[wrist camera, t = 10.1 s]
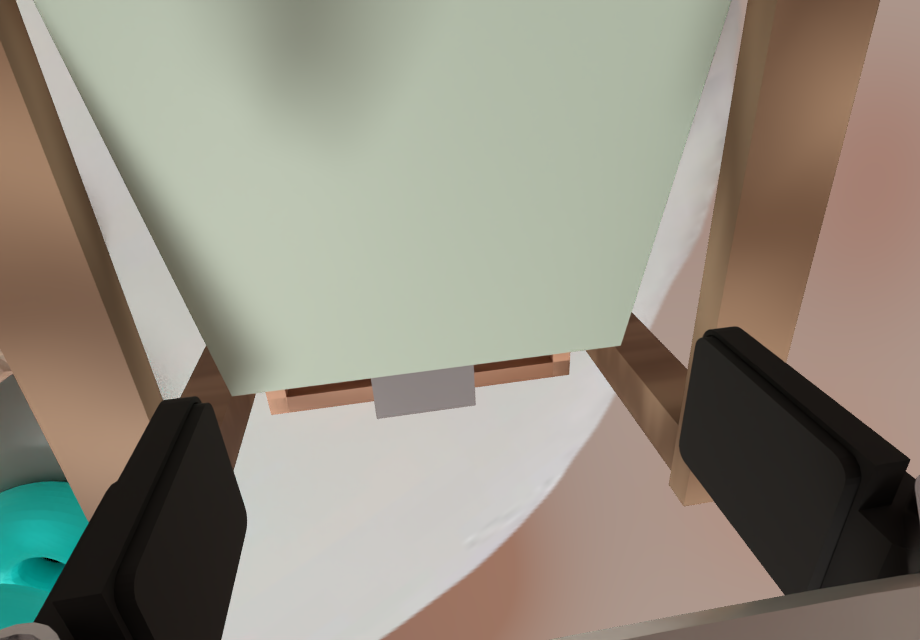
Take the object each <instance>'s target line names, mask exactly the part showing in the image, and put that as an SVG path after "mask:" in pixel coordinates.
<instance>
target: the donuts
mask: <svg viewBox="0 0 920 640" xmlns="http://www.w3.org/2000/svg"><path fill="white" fill-rule="evenodd" d="M88 523H89V522H88V520H87V518H86V516H85V514H84V512H83V510H82V508H81V506H80V504H79V503H78V501H77V499H76V497H75V495H74V493H73V491H72V489H71V487H70V485H69V483H68V482H57V481H49V482H36V483H30V484H25V485H21V486H17V487H14V488H11V489H9V490H6V491H4V492H1V493H0V630H1V629H4V628H7V627H10V626H13V625H16V624H23V623H33V622H34V620H35V618H36V617H37V615H38V613H39V611H40V609H41V608H42V606H43V604H44V602H45V600H46V599H47V597H48V595H49V593H50V591H51V590H52V588H53V586H54V584H55V582H56V581H57V579H58V577H59V575H60V573H61V572H62V570H63V568H64V566H65V564H66V563H67V561H68V559H69V557H70V555H71V554H72V552H73V550H74V548H75V546H76V545H77V543H78V541H79V539H80V537H81V536H82V534H83V532H84V530H85V528H86V527H87V525H88ZM41 557H45V558H50V559H54V560H57V561H59V562H62V563H64V564H61V563H56V562H52V561H48V560H46V559H43V558H41Z"/></svg>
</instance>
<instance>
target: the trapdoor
mask: <svg viewBox="0 0 920 640" xmlns="http://www.w3.org/2000/svg"><path fill="white" fill-rule="evenodd" d="M33 1H34V3H35V5H36V7H37V9H38V11H39V13H40V15H41V17H42V19H43V21H44V23H45V25H46V27H47V29H48V31H49V33H50V35H51V37H52V39H53V41H54V43H55V45H56V47H57V49H58V51H59V53H60V55H61V57H62V59H63V61H64V63H65V65H66V67H67V69H68V71H69V73H70V75H71V77H72V79H73V81H74V83H75V85H76V87H77V89H78V91H79V93H80V95H81V97H82V99H83V101H84V103H85V105H86V107H87V109H88V111H89V113H90V115H91V117H92V119H93V121H94V123H95V125H96V127H97V129H98V131H99V133H100V135H101V137H102V139H103V141H104V143H105V145H106V146H107V148H108V150H109V152H110V154H111V156H112V158H113V160H114V162H115V164H116V166H117V168H118V170H119V172H120V174H121V176H122V178H123V180H124V182H125V184H126V186H127V188H128V190H129V192H130V194H131V196H132V198H133V200H134V202H135V204H136V206H137V208H138V210H139V212H140V214H141V216H142V218H143V220H144V222H145V224H146V226H147V228H148V230H149V232H150V234H151V236H152V238H153V240H154V242H155V244H156V246H157V248H158V250H159V252H160V254H161V256H162V258H163V260H164V262H165V264H166V266H167V268H168V270H169V272H170V274H171V276H172V278H173V280H174V282H175V284H176V286H177V288H178V290H179V292H180V294H181V296H182V298H183V300H184V302H185V304H186V306H187V308H188V310H189V312H190V314H191V316H192V318H193V320H194V322H195V324H196V326H197V328H198V330H199V332H200V334H201V336H202V338H203V340H204V342H205V344H206V346H207V348H208V350H209V352H210V354H211V356H212V358H213V360H214V362H215V364H216V366H217V368H218V370H219V372H220V374H221V376H222V378H223V380H224V382H225V384H226V386H227V388H228V390H229V392H230V394H231V395H232V396H239V395H246V394H254V393H262V392H269V391H277V390H285V389H292V388H300V387H308V386H315V385H323V384H331V383H338V382H346V381H354V380H361V379H369V378H377V377H384V376H392V375H400V374H407V373H415V372H423V371H430V370H438V369H446V368H453V367H461V366H468V365H476V364H484V363H491V362H499V361H507V360H514V359H522V358H530V357H537V356H545V355H553V354H560V353H568V352H576V351H583V350H591V349H599V348H606V347H614V346H621V343H622V340H623V337H624V334H625V331H626V328H627V324H628V321H629V318H630V315H631V312H632V309H633V306H634V303H635V299H636V296H637V293H638V290H639V287H640V284H641V281H642V278H643V275H644V271H645V268H646V265H647V262H648V259H649V256H650V253H651V250H652V247H653V243H654V240H655V237H656V234H657V231H658V228H659V225H660V222H661V218H662V215H663V212H664V209H665V206H666V203H667V200H668V197H669V194H670V190H671V187H672V184H673V181H674V178H675V175H676V172H677V169H678V165H679V162H680V159H681V156H682V153H683V150H684V147H685V144H686V141H687V137H688V134H689V131H690V128H691V125H692V122H693V119H694V116H695V112H696V109H697V106H698V103H699V100H700V97H701V94H702V91H703V88H704V84H705V81H706V78H707V75H708V72H709V69H710V66H711V63H712V59H713V56H714V53H715V50H716V47H717V44H718V41H719V38H720V35H721V31H722V28H723V25H724V22H725V19H726V16H727V13H728V10H729V6H730V3H731V0H33Z"/></svg>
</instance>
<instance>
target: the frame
mask: <svg viewBox="0 0 920 640" xmlns="http://www.w3.org/2000/svg"><path fill="white" fill-rule="evenodd" d="M879 2H880V0H748V3H747V9H746V15H745V21H744V27H743V34H742V40H741V46H740V52H739V58H738V64H737V70H736V76H735V82H734V89H733V95H732V101H731V107H730V113H729V119H728V125H727V131H726V138H725V144H724V150H723V156H722V162H721V168H720V174H719V180H718V186H717V193H716V199H715V205H714V211H713V217H712V223H711V229H710V236H709V242H708V249H707V254H706V260H705V266H704V273H703V278H702V284H701V290H700V297H699V303H698V309H697V315H696V321H695V327H694V334H693V339H692V346H691V352H690V358H689V364H688V370H687V369H686V368H685V367H684V365H683V364H681V362H680V361H679V360H678V359H677V358H676V357H675V356H674V355H673V354H672V353H671V352H670V351H669V350H668V349H667V348H666V347H665V346H664V345H663V344H662V343H661V342H660V341H659V340H658V339H657V338H656V337H655V336H654V335H653V334H652V333H651V332H650V331H649V329H648V328H647V327H646V326H645V325H644V324H643V323H642V322H641V321H640V320H639V319H638V318H637V317H636V316H635V315H634V314H633V313H632V312H631V315H630V318H629V321H628V324H627V328H626V331H625V334H624V337H623V340H622V343H621V346H614V347H606V348H599V349H591V350H586V352H587V353H588V354H589V356H590V357H591V359H592V360H593V361H594V363H595V364H596V366H597V367H598V368H599V370H600V371H601V373H602V374H603V375H604V377H605V378H606V380H607V381H608V382H609V384H610V385H611V387H612V388H613V390H614V391H615V392H616V394H617V395H618V397H619V398H620V399H621V401H622V402H623V404H624V405H625V406H626V408H627V409H628V411H629V412H630V413H631V415H632V416H633V418H634V419H635V421H636V422H637V423H638V425H639V426H640V427H641V429H642V430H643V432H644V433H645V435H646V436H647V437H648V439H649V440H650V442H651V443H652V444H653V446H654V447H655V449H656V450H657V451H658V453H659V454H660V456H661V457H662V458H663V460H664V461H665V463H666V464H667V466H668V467H669V468H670V470H671V474H670V480H669V486H670V487H671V488H672V490H673V491H674V493H675V494H676V496H677V497H678V499H679V500H680V502H681V503H682V505H683V506H689V505H695V504H701V503H707V502H713V499H712V498H711V497H710V495H709V494H708V493H707V491H706V490H705V489H704V487H703V486H702V485H701V483H700V482H699V481H698V480H697V478H696V477H695V476H694V474H693V473H692V472H691V470H690V469H689V468H688V466H687V465H686V464H685V462H684V461H683V459H682V457H681V454H680V451H679V439H680V433H681V427H682V421H683V415H684V409H685V403H686V397H687V391H688V385H689V379H690V373H691V367H692V361H693V355H694V349H695V344H696V341H697V340H698V339H699V338H702V337H703V334H704V333H705V331H707V330H709V329H717V328H725V327H732V326H738V327H740V328H741V329H743V330H744V331H745V332H747V333H748V334H749V335H751V336H752V337H753V338H754V339H756V340H757V341H758V342H760V343H761V344H762V345H763V346H765V347H766V348H767V349H769V350H770V351H771V352H773V353H774V354H775V355H776V356H778V357H779V358H780V359H782V360H783V361H784V362H785V363H786V361H787V357H788V353H789V350H790V345H791V342H792V338H793V334H794V330H795V326H796V322H797V318H798V315H799V311H800V307H801V303H802V299H803V296H804V292H805V288H806V284H807V280H808V276H809V272H810V268H811V265H812V261H813V257H814V253H815V249H816V245H817V242H818V238H819V234H820V230H821V226H822V222H823V218H824V214H825V211H826V207H827V203H828V199H829V195H830V191H831V187H832V184H833V180H834V176H835V172H836V168H837V165H838V161H839V157H840V153H841V149H842V145H843V141H844V138H845V134H846V130H847V126H848V122H849V118H850V114H851V110H852V107H853V103H854V99H855V95H856V91H857V88H858V84H859V80H860V76H861V72H862V68H863V64H864V61H865V57H866V52H867V49H868V45H869V41H870V37H871V33H872V30H873V25H874V22H875V18H876V14H877V10H878V6H879ZM0 349H1V351H2V353H3V355H4V357H5V359H6V361H7V363H8V365H9V367H10V369H11V371H12V373H13V375H14V377H15V379H16V381H17V383H18V385H19V386H20V388H21V390H22V392H23V394H24V396H25V398H26V400H27V402H28V404H29V406H30V408H31V410H32V412H33V414H34V416H35V418H36V420H37V422H38V424H39V426H40V428H41V430H42V432H43V434H44V436H45V438H46V440H47V442H48V444H49V445H50V447H51V449H52V451H53V453H54V455H55V457H56V459H57V461H58V463H59V465H60V467H61V469H62V471H63V473H64V475H65V477H66V479H67V481H68V483H69V485H70V487H71V489H72V491H73V493H74V495H75V497H76V499H77V501H78V503H79V504H80V506H81V508H82V510H83V512H84V514H85V516H86V518H87V520H88V522H89V521H90V519H91V518H92V516H93V514H94V512H95V510H96V509H97V507H98V505H99V503H100V501H101V500H102V498H103V496H104V494H105V492H106V491H107V490H108V488H109V487H110V486H111V484H113V483H115V482H116V481H118V479H119V477H120V475H121V473H122V471H123V470H124V468H125V466H126V464H127V462H128V460H129V459H130V457H131V455H132V453H133V451H134V449H135V447H136V446H137V444H138V442H139V440H140V438H141V436H142V435H143V433H144V431H145V429H146V427H147V425H148V424H149V422H150V420H151V418H152V416H153V414H154V413H155V411H156V409H157V407H158V405H159V404H160V403H161V401H163V399H162V396H161V393H160V391H159V388H158V385H157V383H156V380H155V377H154V374H153V372H152V369H151V366H150V364H149V361H148V358H147V355H146V353H145V350H144V347H143V345H142V342H141V339H140V336H139V334H138V331H137V328H136V326H135V323H134V320H133V317H132V315H131V312H130V309H129V307H128V304H127V301H126V298H125V296H124V293H123V290H122V288H121V285H120V282H119V280H118V277H117V274H116V271H115V269H114V266H113V263H112V261H111V258H110V255H109V252H108V250H107V247H106V244H105V242H104V239H103V236H102V233H101V231H100V228H99V225H98V223H97V220H96V217H95V214H94V212H93V209H92V206H91V204H90V201H89V198H88V195H87V193H86V190H85V187H84V185H83V182H82V179H81V176H80V174H79V171H78V168H77V166H76V163H75V160H74V157H73V155H72V152H71V149H70V147H69V144H68V141H67V138H66V136H65V133H64V130H63V128H62V125H61V122H60V119H59V117H58V114H57V111H56V109H55V106H54V103H53V100H52V98H51V95H50V92H49V90H48V87H47V84H46V81H45V79H44V76H43V73H42V71H41V68H40V65H39V63H38V60H37V57H36V54H35V52H34V49H33V46H32V44H31V41H30V38H29V35H28V33H27V30H26V27H25V25H24V22H23V19H22V16H21V14H20V11H19V8H18V6H17V3H16V0H0ZM569 366H570V352H568V353H560V354H553V355H545V356H537V357H530V358H522V359H514V360H507V361H499V362H491V363H484V364H476V365H474V382H475V387H481V386H489V385H496V384H504V383H511V382H518V381H526V380H533V379H540V378H548V377H555V376H563V375H569ZM255 395H256V393H254V394H246V395H239V396H232V395H231V394H230V392H229V390H228V388H227V386H226V384H225V382H224V380H223V378H222V376H221V374H220V372H219V370H218V368H217V366H216V364H215V362H214V360H213V358H212V356H211V354H210V352H209V350H208V348H207V346H206V347H205V349H204V351H203V353H202V355H201V357H200V359H199V361H198V363H197V365H196V367H195V369H194V371H193V373H192V375H191V377H190V379H189V381H188V383H187V385H186V387H185V389H184V391H183V393H182V395H181V397H180V398H185V397H192V396H197V397H198V398H199V399H200V400H201V402H202V403H210V404H211V405H212V407H213V409H214V412H215V415H216V418H217V421H218V425H219V428H220V431H221V434H222V437H223V440H224V443H225V446H226V450H227V453H228V456H229V459H230V462H231V465H232V468H233V471H234V467H235V464H236V460H237V457H238V453H239V450H240V446H241V443H242V440H243V436H244V433H245V429H246V426H247V422H248V419H249V416H250V412H251V409H252V405H253V402H254V398H255ZM266 396H267V399H268V403H269V407H270V411H271V415H275V414H282V413H289V412H297V411H304V410H311V409H319V408H326V407H334V406H341V405H348V404H356V403H363V402H371V401H374V396H373V389H372V383H371V378H369V379H361V380H354V381H346V382H338V383H331V384H323V385H315V386H308V387H300V388H292V389H285V390H277V391H269V392H266Z"/></svg>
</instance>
